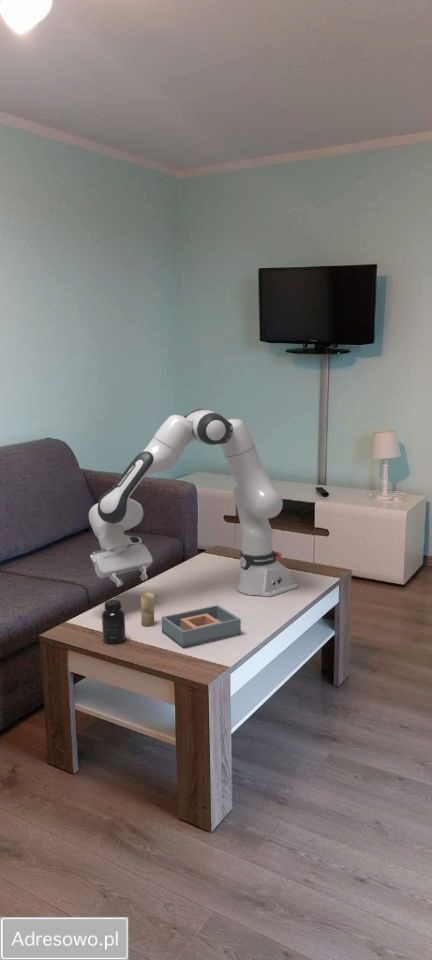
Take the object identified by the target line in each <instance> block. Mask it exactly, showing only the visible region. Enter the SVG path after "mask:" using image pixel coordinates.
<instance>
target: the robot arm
mask: <svg viewBox="0 0 432 960" xmlns="http://www.w3.org/2000/svg"><path fill="white" fill-rule="evenodd" d="M193 441H198V442H200V443H202V444H205V445H209V446H215V445H219V446H220V447H221V450H222V452H223V455H224V458H225V460H226V464H227V466H228V469H229V472H230V474H231V477H232V478H233V479H234V480H235V481H236V483H237V484H236V485H235V487H234V488H233V492H232V496H233V500H234V503H235V505H236V509H237V510H236V511H237V514H238V515H237V516H238V518H239V520H238V521H239V523H240V530H241V531H240V533H241V535H240V537H241V539H240V540H241V548H240V549H241V550H240V551H239V553H240V554H239V563H240V564H239V565H240V572H239V579H238V584H237V587H236V590H237V591H238V592H239V593H241V594H245V595H249V596H263V597H267V598H268V597H269V598H270V597H271V598H272V597H275V596H278V595H280V594H283V593H286V592H289V591H292V590H295V589H298V583H297V582H296V581H295V580H293V579H292V574H291V571H290V570H289V568H287V567H286V566H284V565H283V564H282V563H281V562H279V561H278V560H277V559H281V558H282V553H281V552H279V551H274V550H273V529H272V527H271V524H270V521H269V519H273V518H276V517H277V516H278V515H279V514H280V513H281V511H282V509H283V505H284V504H283V502H284V501H283V499H282V498H283V497H282V495H280V493H279V492H278V491H277V490H276V488H275V486H274V485H273V482H272V481H271V479H270V477H269V475H268V473H267V472H266V470H265V469H264V466H263V465H262V461H261V458H260V456H259V454H258V451H257V448H256V445H255V441H254V440H253V436H252V435H251V434H250V431H249V429H248V427H247V426H246V424H245V423H244V421H243V420H241V419H239V418H229V419H226V418H225V417H224V416H223V415H222V414H220V413H217V412H215V411H212V410H209V409H202V408H201V409H199V408H198V409H195V410H193V411H190V413H187V414H185V415H180V414H171V415H170V416H168V417H167V419H165V421H164V422H163V423H162V424H161V426H160V427H159V428H158V430H157V431H156V432H155V434H154V435H153V437H152V438H151V440H150V441H149V442H148V445H147V446H146V447H144V449H143V450H142V451H141V452H139V454H137V455H136V456H135V457H134V459H133V460H132V461H131V462H130V463H129V465H128V466H127V468H126V469H125V470H124V472H123V473H122V474H121V475H120V476H119V478H118V479H117V481H116V482H115V483H114V484H113V486H112V487H111V488H110V489H108V490H107V491H106V492H105V493H103V495H101V497H100V498H99V500H98V503H95V504H94V505H93V506H91V508H90V510H89V511H88V521H89V524H90V526H91V528H92V531H93V533H94V536H95V537H97V539H98V543H99V546H100V548H101V549H99V550H94V551H92V553H90V557H89V558H90V561H91V562H92V564H93V566H94V567H93V568H94V571H95V573H96V575H97V577H98V578H99V579H104V578H109V580H111V581H112V582H114V583H115V584H116V587H117V588H119V587H123V585H124V582H123V580H122V579H121V578H120V579H119V578H118V577H117V575H120V574H126V573H129V572H134V571H138V570H139V572H141V575H140V576H139V577H140V579H141V582H142V581H146V580H148V578H149V577H148V575H147V568H149V567H150V566H151V565H152V564H153V561H154V560H153V556H152V554H151V553H150V551H149V549H148V547H147V546H146V545H145V544H143V540H142V538H141V537H139V536H133V535H127V534H125V532H127V531H128V530H130V529H133V528H135V527H137V526H138V525H140V523H141V522H142V520H143V518H144V508H143V506H142V504H141V503H140V502H139V501H137V500H135V499H133V498H131V495H133V493H134V491H135V490H136V489H137V488H138V486H139V485H140V483H141V482H142V481H143V480H144V478H145V477H148V476H149V475H151V474H155V473H163V472H167V471H169V470H171V469H172V468H173V467H174V466H175V465H176V464H177V462H178V461H179V459H180V457H181V456H182V454H183V452H184V451H185V449H186V447H187V446H188V445H189V444H190V443H192V442H193ZM276 558H277V559H276Z"/></svg>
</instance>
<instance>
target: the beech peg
mask: <svg viewBox="0 0 432 960" xmlns="http://www.w3.org/2000/svg"><path fill="white" fill-rule="evenodd" d="M154 599H155V595H154V593H153V592H150V591H149V592H148V591H147V592H142V593H141V594H140V607H141V609H140V611H141V612H140V613H141V614H140V615H141V618H140V619H141V626H142V627H147V628H149V627H153V626H154V625H155V604H154V603H155V601H154Z"/></svg>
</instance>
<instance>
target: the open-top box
mask: <svg viewBox="0 0 432 960" xmlns="http://www.w3.org/2000/svg"><path fill="white" fill-rule="evenodd" d="M241 621H242V620H241V618H240V617H238V616H236V615H235V614H233V613H231V612H230V611H228V610H226V609H225V608H223V607H221V606H220V605H219V604H216V605H212V606H205V607H202V608H201V607H200V608H198V609H192V610H188V611H184V612H183V611H182V612H179V613H173V614H169V615H164V616H161V633H162V634H163V635H165V636H166V637H168V638H169V639H170V640H171V641H173V642H174V643H176V644H177V645H178V646H179V647H180V648H181V649H185V648H191V647H194V646H198V645H203V644H206V643H210V642H215V641H219V640H222V639H226V638H227V639H228V638H232V637H235V636H240V635H241Z"/></svg>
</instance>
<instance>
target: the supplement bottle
mask: <svg viewBox="0 0 432 960" xmlns="http://www.w3.org/2000/svg"><path fill="white" fill-rule="evenodd" d="M101 622H102V623H101V624H102V625H101V626H102V627H101V628H102V629H101V630H102V641H103V642H104V643H106V644H108V645H117V644H121V643H123V642H124V641H126V615H125V611H124V610H123V609H122V602H121V600H118V599H109V600H107V601H105V602H104V611H102V614H101Z"/></svg>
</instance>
